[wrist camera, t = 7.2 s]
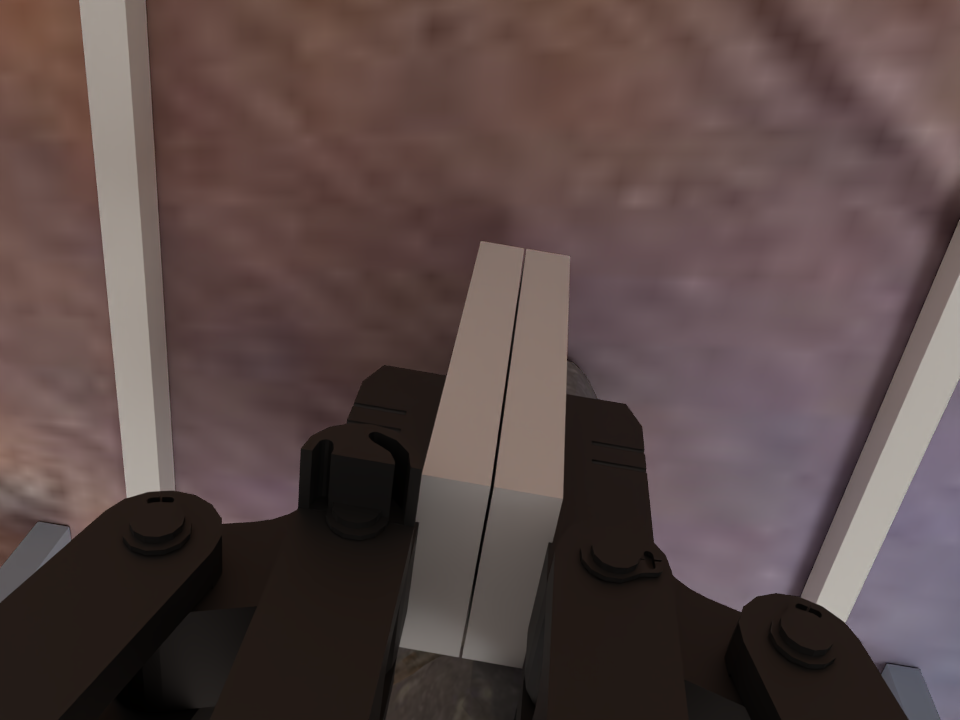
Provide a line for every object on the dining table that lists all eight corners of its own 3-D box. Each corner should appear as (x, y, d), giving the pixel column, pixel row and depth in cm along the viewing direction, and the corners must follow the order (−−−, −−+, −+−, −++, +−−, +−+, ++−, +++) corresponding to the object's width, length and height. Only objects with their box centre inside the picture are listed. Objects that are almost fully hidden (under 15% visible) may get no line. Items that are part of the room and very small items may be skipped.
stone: (355, 449, 20) (167, 897, 12) (548, 312, 18) (491, 748, 9) (455, 544, 21) (350, 1020, 13) (651, 427, 19) (684, 913, 10)
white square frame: (83, -208, 14) (59, -210, 14) (1130, -55, 14) (1159, -50, 13) (143, 495, 22) (128, 517, 21) (831, 609, 21) (839, 635, 20)
